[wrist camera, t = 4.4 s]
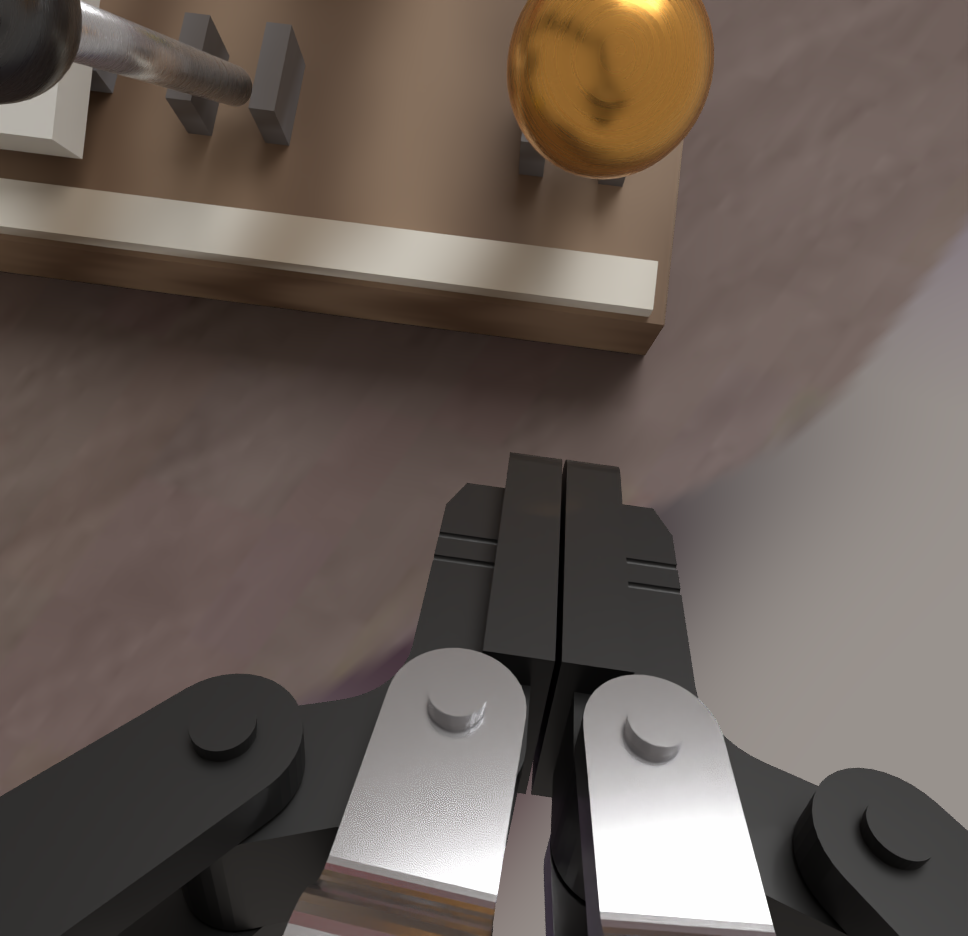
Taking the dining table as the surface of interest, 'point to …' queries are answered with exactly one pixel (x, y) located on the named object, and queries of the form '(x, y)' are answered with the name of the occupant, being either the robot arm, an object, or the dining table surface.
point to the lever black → (103, 53)
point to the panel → (347, 181)
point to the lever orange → (609, 80)
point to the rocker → (51, 116)
